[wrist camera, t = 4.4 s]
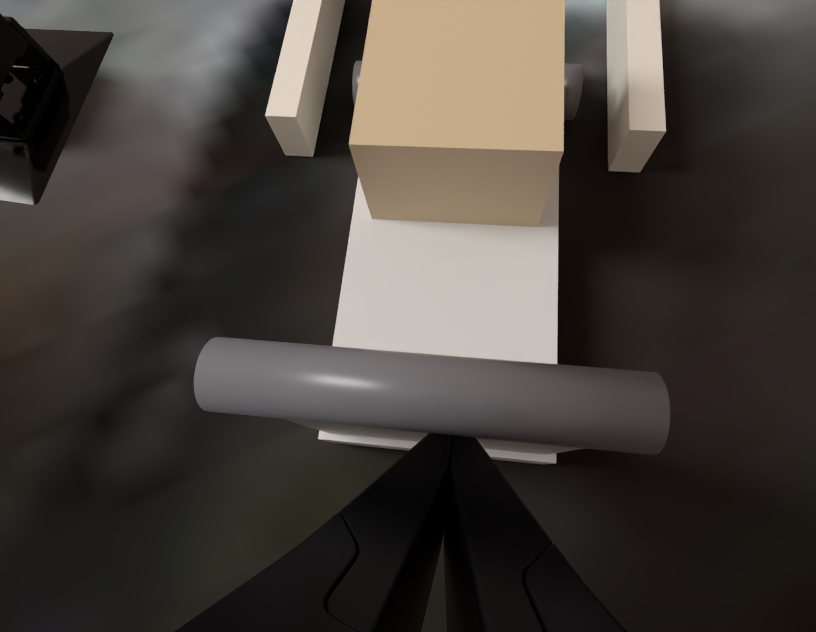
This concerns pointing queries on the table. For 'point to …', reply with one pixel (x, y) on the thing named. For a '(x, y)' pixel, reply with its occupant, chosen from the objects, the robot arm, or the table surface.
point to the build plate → (40, 100)
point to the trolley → (450, 256)
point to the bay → (626, 79)
